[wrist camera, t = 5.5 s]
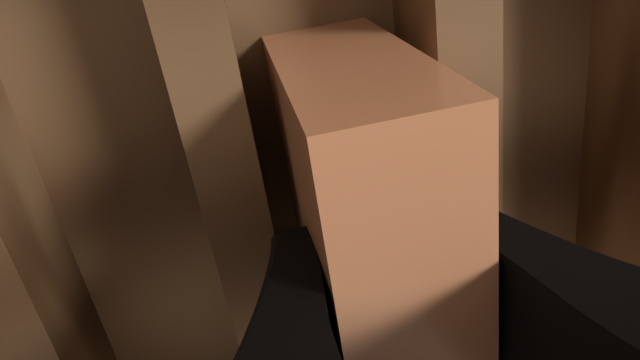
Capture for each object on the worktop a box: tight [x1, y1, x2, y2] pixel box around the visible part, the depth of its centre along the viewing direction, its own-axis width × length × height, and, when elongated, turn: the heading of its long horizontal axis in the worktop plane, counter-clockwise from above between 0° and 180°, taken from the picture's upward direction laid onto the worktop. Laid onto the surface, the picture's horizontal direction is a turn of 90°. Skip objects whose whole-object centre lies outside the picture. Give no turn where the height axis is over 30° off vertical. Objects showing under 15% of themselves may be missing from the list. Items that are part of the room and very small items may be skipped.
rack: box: [0, 0, 640, 360], centre depth 12 cm, size 22×15×3 cm
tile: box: [261, 17, 499, 360], centre depth 10 cm, size 8×2×6 cm, turn 9°
